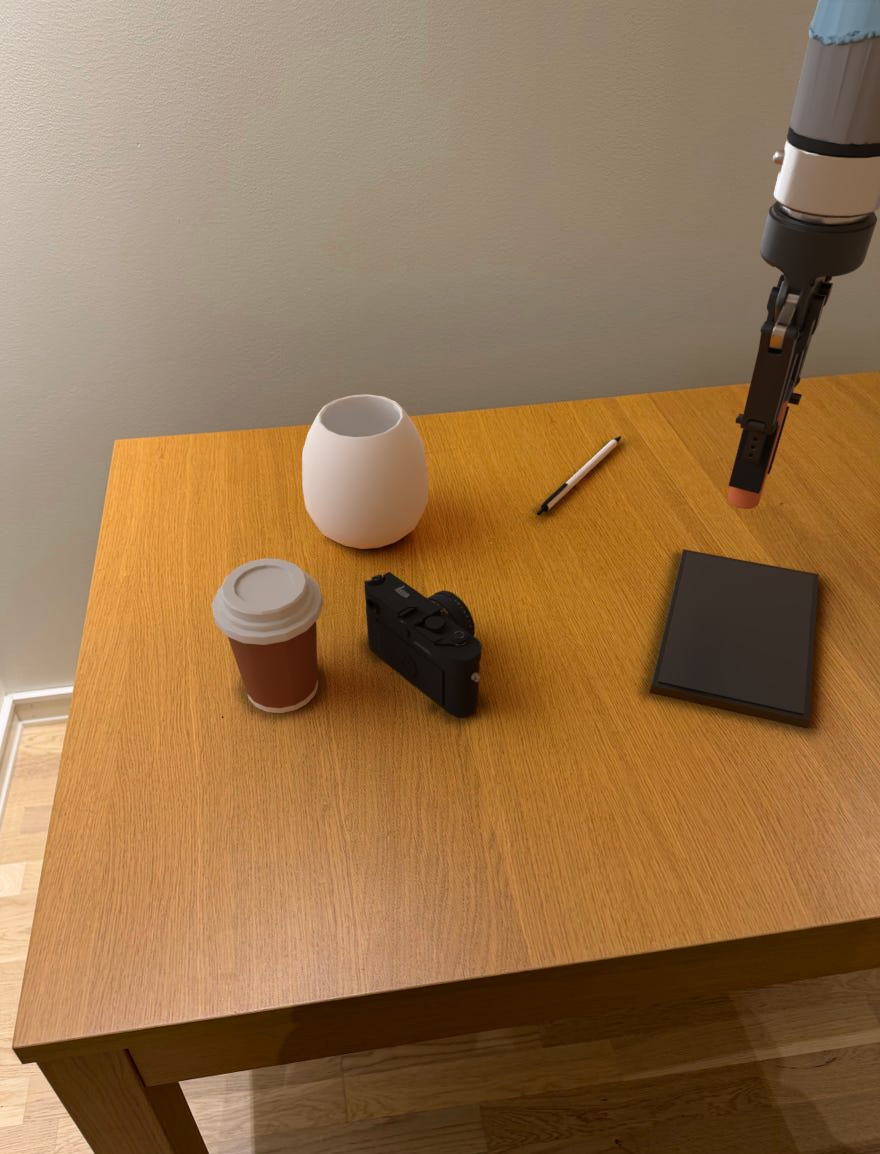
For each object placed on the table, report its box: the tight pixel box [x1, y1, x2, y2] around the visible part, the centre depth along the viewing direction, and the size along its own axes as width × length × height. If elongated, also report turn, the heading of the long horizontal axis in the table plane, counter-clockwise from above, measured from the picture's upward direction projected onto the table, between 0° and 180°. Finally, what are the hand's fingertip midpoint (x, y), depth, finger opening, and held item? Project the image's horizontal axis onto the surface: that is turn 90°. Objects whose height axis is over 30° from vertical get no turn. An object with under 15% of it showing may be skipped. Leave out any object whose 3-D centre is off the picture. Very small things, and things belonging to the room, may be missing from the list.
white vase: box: [301, 393, 430, 550], centre depth 95 cm, size 13×13×14 cm
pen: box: [536, 435, 622, 517], centre depth 104 cm, size 1×19×1 cm, turn 143°
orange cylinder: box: [727, 380, 794, 510], centre depth 81 cm, size 3×3×12 cm
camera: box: [363, 571, 483, 718], centre depth 81 cm, size 14×7×8 cm, turn 41°
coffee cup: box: [211, 557, 324, 714], centre depth 78 cm, size 9×9×12 cm
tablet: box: [649, 549, 820, 729], centre depth 85 cm, size 20×13×1 cm, turn 160°
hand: (750, 477), depth 83 cm, fingers closed on orange cylinder, 3 cm apart
